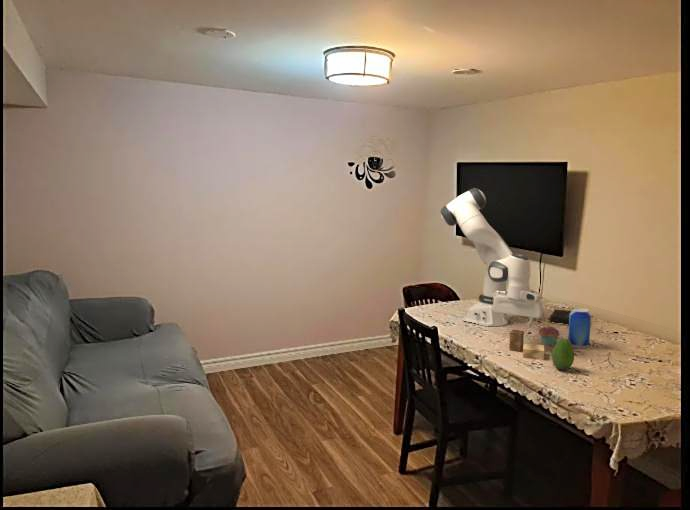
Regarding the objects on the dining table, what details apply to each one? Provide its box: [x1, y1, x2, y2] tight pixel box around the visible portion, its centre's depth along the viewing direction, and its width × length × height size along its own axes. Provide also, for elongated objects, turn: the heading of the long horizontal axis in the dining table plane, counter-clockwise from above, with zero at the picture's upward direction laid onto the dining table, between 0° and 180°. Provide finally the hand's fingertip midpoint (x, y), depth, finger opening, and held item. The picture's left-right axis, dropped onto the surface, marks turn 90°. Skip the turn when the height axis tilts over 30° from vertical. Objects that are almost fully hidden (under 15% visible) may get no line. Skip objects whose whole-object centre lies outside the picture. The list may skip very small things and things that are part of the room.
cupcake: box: [538, 316, 560, 345], centre depth 232 cm, size 9×8×12 cm
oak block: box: [522, 342, 545, 361], centre depth 215 cm, size 8×8×4 cm
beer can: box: [567, 307, 592, 349], centre depth 226 cm, size 8×8×16 cm
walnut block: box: [508, 329, 525, 353], centre depth 222 cm, size 4×4×8 cm
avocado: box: [551, 338, 575, 371], centre depth 199 cm, size 8×8×12 cm
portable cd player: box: [549, 309, 572, 326], centre depth 268 cm, size 16×17×4 cm
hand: (516, 325), depth 221 cm, fingers open, 8 cm apart
